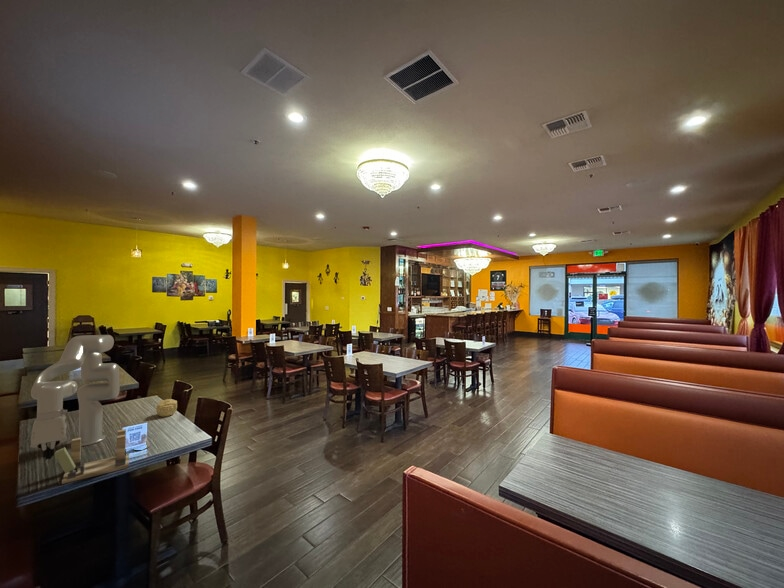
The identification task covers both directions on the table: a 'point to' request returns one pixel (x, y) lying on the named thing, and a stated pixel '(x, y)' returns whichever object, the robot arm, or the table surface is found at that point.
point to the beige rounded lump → (166, 407)
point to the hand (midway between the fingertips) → (48, 458)
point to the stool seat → (100, 465)
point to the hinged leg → (65, 460)
